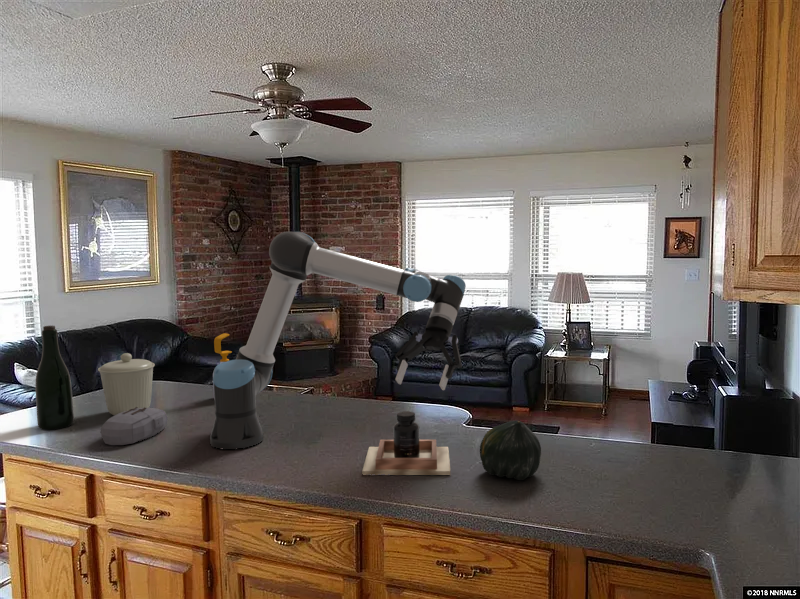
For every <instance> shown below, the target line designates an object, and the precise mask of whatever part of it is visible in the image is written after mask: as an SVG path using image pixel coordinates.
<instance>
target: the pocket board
mask: <svg viewBox="0 0 800 599" xmlns="http://www.w3.org/2000/svg"><path fill="white" fill-rule="evenodd" d="M419 444H420V456H419V458H395V457H394V439H379V444H378V446H369V447H368V450H367V453H366V457H365V460H364V464H363V466H362V467H363V468H362V469H361V470H362V471H361V473H362V474H363V475H366V474H367V475H368V474H371V475H372V474H375V475H378V474H380V475H381V474H385V475H388V474H390V475H450V476H451V461H450V452H449V446H437V439H419Z"/></svg>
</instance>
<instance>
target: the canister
mask: <svg viewBox="0 0 800 599" xmlns="http://www.w3.org/2000/svg"><path fill="white" fill-rule="evenodd" d="M155 366H156V365H155V363H154V362H152V361H150V360H149V359H148V360H147V359H144V358H143V359H142V358H133V356H132V354H131V353H130V352H129V353H128V352H126V353H125V352H124V353H123V354H121V355H120V360H115V361H109V362H106V363H105V364H102V366H100V367H98V369H97V371H98V372H99V373H100V378H101V384H102V391H103V395H104V399H105V403H106V409H107V411H108V412H109V414H110V415H112V416H115V415H117V414H119V413H122V412H124V411H129V410H130V409H134V408H135V407H138V408H144V407H145V408H151V407H150V406H151V402H152V391H153V389H152V388H153V374H154V372H153V371H154V367H155Z"/></svg>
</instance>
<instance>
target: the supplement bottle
mask: <svg viewBox="0 0 800 599" xmlns="http://www.w3.org/2000/svg"><path fill="white" fill-rule="evenodd" d="M392 430H393V435H392V436H393V440H394V457H395V458H419V456H420V444H419V440H420V426H419V424H418V423H417V422H416V413H415V412H413V411H409V410H408V411H406V410H405V411H399V412H397V413H396V423H395V424H394V425H393V429H392Z"/></svg>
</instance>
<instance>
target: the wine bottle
mask: <svg viewBox="0 0 800 599" xmlns="http://www.w3.org/2000/svg"><path fill="white" fill-rule="evenodd" d="M41 336H42V353H41V360H40V362H39V364H38V367H37V371H36V374H35V404H36V418H37V419H36V421H37V427H38V429H40V430H43V431H46V430H47V431H49V430H52V431H53V430H59V429H64V428H67V427H70V426H71V425H73V424H74V423H75V411H74V399H73V390H72V381H71V375H70V372H69V369H68V367H67V365H66V363H65V361H64V359H63V358H62V355H61V353H60V346H59V341H58V330H57V328H56V326H55V325H44V326H43V329H42V330H41Z"/></svg>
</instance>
